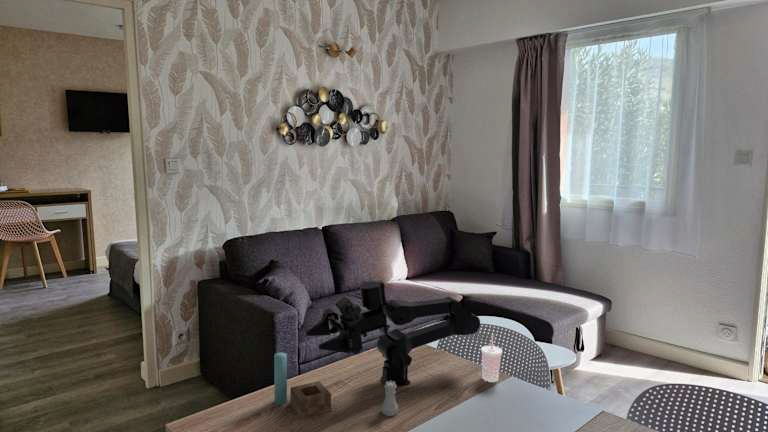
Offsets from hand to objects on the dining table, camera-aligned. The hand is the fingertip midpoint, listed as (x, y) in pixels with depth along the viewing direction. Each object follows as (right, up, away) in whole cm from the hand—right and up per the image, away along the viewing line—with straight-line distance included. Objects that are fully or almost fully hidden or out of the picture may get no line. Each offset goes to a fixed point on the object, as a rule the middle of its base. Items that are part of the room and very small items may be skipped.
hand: (312, 340), depth 132 cm
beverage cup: (+50, -16, +17) cm, 55 cm away
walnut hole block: (0, -17, -1) cm, 17 cm away
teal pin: (-8, -16, +1) cm, 19 cm away
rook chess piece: (+20, -18, -3) cm, 27 cm away
